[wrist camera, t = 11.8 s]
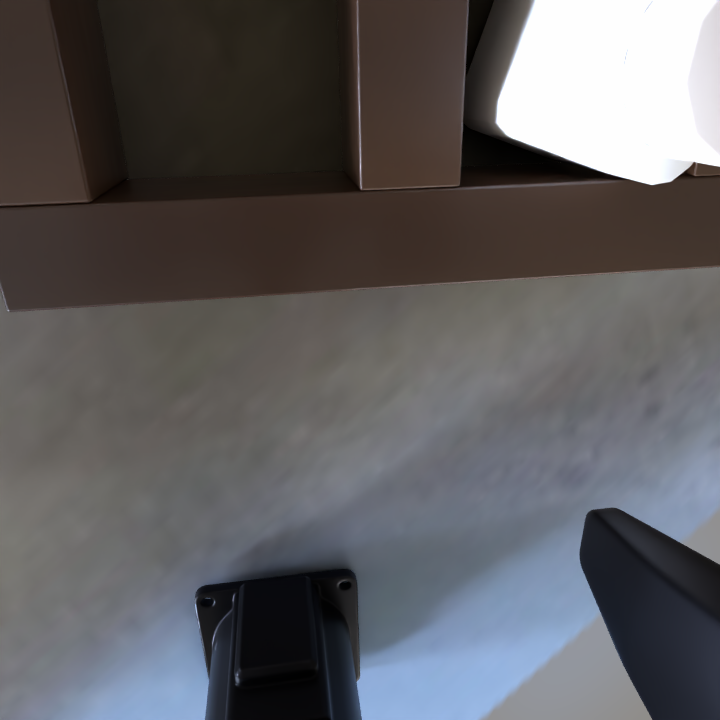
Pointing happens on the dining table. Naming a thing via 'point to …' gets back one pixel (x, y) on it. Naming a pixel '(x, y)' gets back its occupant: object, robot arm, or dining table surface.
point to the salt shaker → (601, 83)
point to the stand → (306, 184)
